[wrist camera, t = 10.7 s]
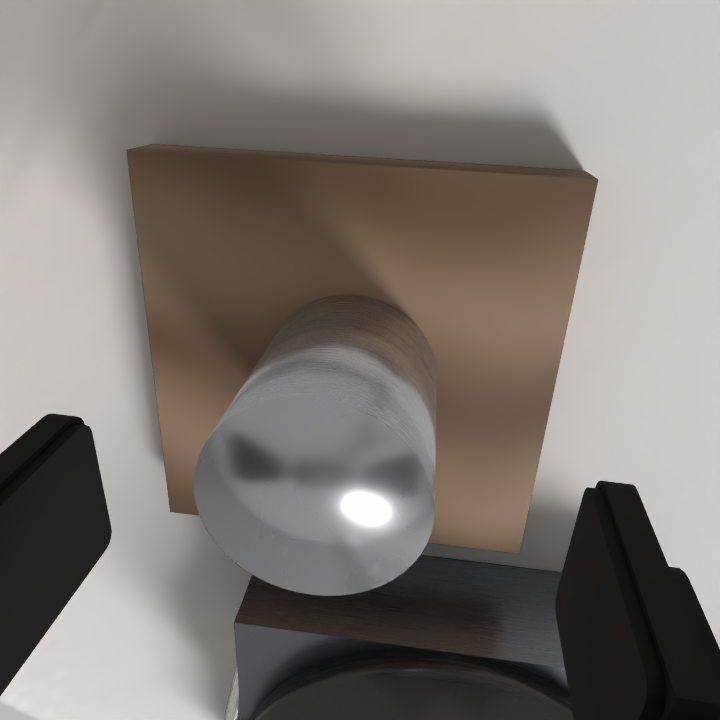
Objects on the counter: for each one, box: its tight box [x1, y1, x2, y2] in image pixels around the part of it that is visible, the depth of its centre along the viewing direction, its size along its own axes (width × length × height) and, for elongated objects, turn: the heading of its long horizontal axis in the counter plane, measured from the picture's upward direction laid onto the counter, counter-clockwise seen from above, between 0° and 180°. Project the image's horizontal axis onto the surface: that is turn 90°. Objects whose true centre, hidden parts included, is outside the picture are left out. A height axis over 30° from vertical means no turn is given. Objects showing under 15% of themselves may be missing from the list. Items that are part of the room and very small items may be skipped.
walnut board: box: [127, 144, 598, 554], centre depth 18 cm, size 12×12×2 cm
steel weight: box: [194, 294, 437, 596], centre depth 15 cm, size 5×5×6 cm
